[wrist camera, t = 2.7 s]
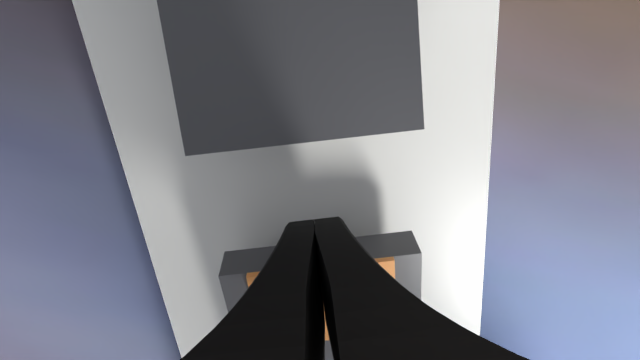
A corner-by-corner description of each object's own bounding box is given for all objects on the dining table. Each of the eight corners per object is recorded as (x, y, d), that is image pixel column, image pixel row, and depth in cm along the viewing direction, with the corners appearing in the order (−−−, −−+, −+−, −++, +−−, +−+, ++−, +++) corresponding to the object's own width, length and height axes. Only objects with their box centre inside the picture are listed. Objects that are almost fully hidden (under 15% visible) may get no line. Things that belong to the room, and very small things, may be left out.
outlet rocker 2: (411, 381, 14) (421, 415, 13) (261, 398, 14) (258, 433, 13) (411, 230, 11) (423, 257, 10) (224, 251, 11) (217, 280, 10)
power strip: (445, 508, 23) (465, 579, 20) (262, 529, 23) (256, 602, 20) (461, -235, 11) (518, -320, 8) (71, -192, 11) (-10, -262, 8)
